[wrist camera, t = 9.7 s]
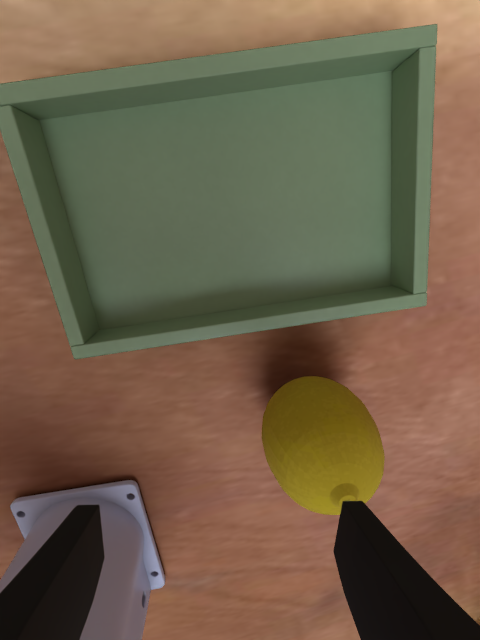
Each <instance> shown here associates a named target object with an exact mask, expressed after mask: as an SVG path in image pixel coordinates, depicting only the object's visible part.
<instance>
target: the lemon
mask: <svg viewBox="0 0 480 640" xmlns="http://www.w3.org/2000/svg"><path fill="white" fill-rule="evenodd" d="M262 442H263V447H264V451H265V456H266V459H267V462H268V465H269V467H270V469H271V471H272V472H273V474H274V476H275V478H276V479H277V481H278V483H279V484H280V486H281V487H282V489H283V490H284V491H285V492H286V493H287V494H288V495H289V496H290V497H291V498H292V499H293V500H294V501H295V502H296V503H298V504H299V505H301V506H303V507H304V508H306V509H308V510H310V511H313V512H316V513H320V514H326V515H339V514H340V513H341V508H342V502H343V501H363V502H364V503H366V502H367V501H368V500H369V499H370V498H371V497H372V496H373V494H374V493H375V491H376V490H377V488H378V486H379V484H380V481H381V478H382V476H383V470H384V450H383V446H382V442H381V438H380V434H379V431H378V428H377V426H376V424H375V422H374V420H373V418H372V416H371V415H370V413H369V412H368V410H367V408H366V407H365V405H364V404H363V403H362V401H361V400H360V399H359V398H358V397H357V396H355V395H354V394H353V393H352V392H351V391H350V390H349V389H348V388H346V387H345V386H343V385H341V384H339V383H337V382H335V381H333V380H331V379H328V378H323V377H318V376H306V377H301V378H297V379H293V380H292V381H290V382H288V383H286V384H284V385H283V386H282V387H281V388H280V389H278V390H277V391H276V392H275V393H274V395H273V396H272V398H271V399H270V400H269V402H268V404H267V407H266V410H265V412H264V416H263V424H262Z"/></svg>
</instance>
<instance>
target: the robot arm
mask: <svg viewBox="0 0 480 640" xmlns="http://www.w3.org/2000/svg"><path fill="white" fill-rule="evenodd" d="M129 493H132V494H134V495H130V494H129ZM10 508H11V511H12V513H13V515H14V517H15V519H16V522H17V524H18V526H19V528H20V530H21V532H22V535H23V537H24V539H25V540H24V542H23V544H22V545H21V547H20V549H19V550H18V552H17V554H16V555H15V557H14V559H13V560H12V562H11V564H10V565H9V567H8V569H7V570H6V572H5V574H4V575H3V577H2V579H1V580H0V640H142V635H143V630H144V624H145V619H146V613H147V608H148V602H149V597H150V591H151V590H152V589H158V588H161V587H163V586H164V584H165V575H164V572H163V568H162V565H161V561H160V558H159V555H158V551H157V548H156V545H155V541H154V538H153V534H152V531H151V528H150V524H149V521H148V518H147V514H146V511H145V507H144V504H143V501H142V497H141V494H140V490H139V487H138V484H137V483H136V482H135V481H133V480H126V481H119V482H113V483H107V484H101V485H94V486H88V487H82V488H76V489H69V490H63V491H57V492H51V493H44V494H38V495H32V496H26V497H19V498H16V499H15V500H14V501H13V502H12V504H11V506H10ZM334 555H335V559H336V563H337V567H338V571H339V575H340V579H341V583H342V586H343V590H344V593H345V596H346V599H347V602H348V605H349V608H350V611H351V613H352V616H353V619H354V622H355V625H356V627H357V630H358V633H359V636H360V638H361V640H480V625H479V624H477V623H476V622H475V621H474V620H473V619H472V618H471V617H470V616H469V615H468V614H467V613H466V612H465V611H464V610H463V609H462V608H461V607H460V606H459V605H458V604H457V603H456V602H455V601H454V600H453V599H452V598H451V597H450V596H449V595H448V594H447V593H446V592H445V591H444V590H443V589H442V588H441V587H440V586H439V585H438V584H437V583H436V582H435V581H434V580H433V579H432V578H431V576H430V575H429V574H428V573H427V572H426V571H425V570H424V569H423V568H422V567H421V566H420V565H419V564H418V563H417V562H416V560H415V559H414V558H413V557H412V556H411V555H410V554H409V553H408V552H407V551H406V550H405V548H404V547H403V546H402V545H401V544H400V543H399V542H398V541H397V540H396V538H395V537H394V536H393V535H392V534H391V533H390V532H389V531H388V529H387V528H386V527H385V526H384V525H383V524H382V523H381V522H380V520H379V519H378V518H377V517H376V516H375V515H374V514H373V512H372V511H371V510H370V509H369V508H368V507H367V506H366V505H365V503H364V502H363V501H343V502H342V508H341V513H340V519H339V524H338V530H337V535H336V541H335V547H334Z"/></svg>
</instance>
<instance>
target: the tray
mask: <svg viewBox="0 0 480 640" xmlns="http://www.w3.org/2000/svg"><path fill="white" fill-rule="evenodd" d="M436 44H437V24H433V25H426V26H418V27H411V28H404V29H396V30H389V31H382V32H374V33H367V34H360V35H353V36H345V37H338V38H331V39H323V40H316V41H309V42H302V43H294V44H287V45H280V46H272V47H265V48H258V49H250V50H243V51H236V52H229V53H221V54H214V55H207V56H199V57H192V58H185V59H178V60H170V61H163V62H156V63H148V64H141V65H134V66H127V67H119V68H112V69H105V70H97V71H90V72H83V73H75V74H68V75H61V76H54V77H46V78H39V79H32V80H24V81H17V82H10V83H3V84H0V131H1V134H2V137H3V140H4V143H5V146H6V149H7V152H8V156H9V159H10V162H11V165H12V168H13V171H14V174H15V177H16V180H17V183H18V186H19V190H20V193H21V196H22V199H23V202H24V205H25V208H26V211H27V214H28V217H29V221H30V224H31V227H32V230H33V233H34V236H35V239H36V242H37V245H38V248H39V251H40V255H41V258H42V261H43V264H44V267H45V270H46V273H47V276H48V279H49V282H50V286H51V289H52V292H53V295H54V298H55V301H56V304H57V307H58V310H59V313H60V316H61V320H62V323H63V326H64V329H65V332H66V335H67V338H68V341H69V344H70V346H71V351H72V354H73V357H74V359H81V358H88V357H94V356H101V355H107V354H114V353H120V352H127V351H134V350H140V349H147V348H153V347H160V346H166V345H173V344H179V343H186V342H192V341H199V340H205V339H212V338H219V337H225V336H232V335H238V334H245V333H251V332H258V331H264V330H271V329H277V328H284V327H290V326H297V325H304V324H310V323H317V322H323V321H330V320H336V319H343V318H349V317H356V316H362V315H369V314H375V313H382V312H389V311H395V310H402V309H408V308H415V307H421V306H426V304H427V293H426V292H427V276H428V250H429V224H430V197H431V171H432V145H433V118H434V92H435V66H436Z"/></svg>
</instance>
